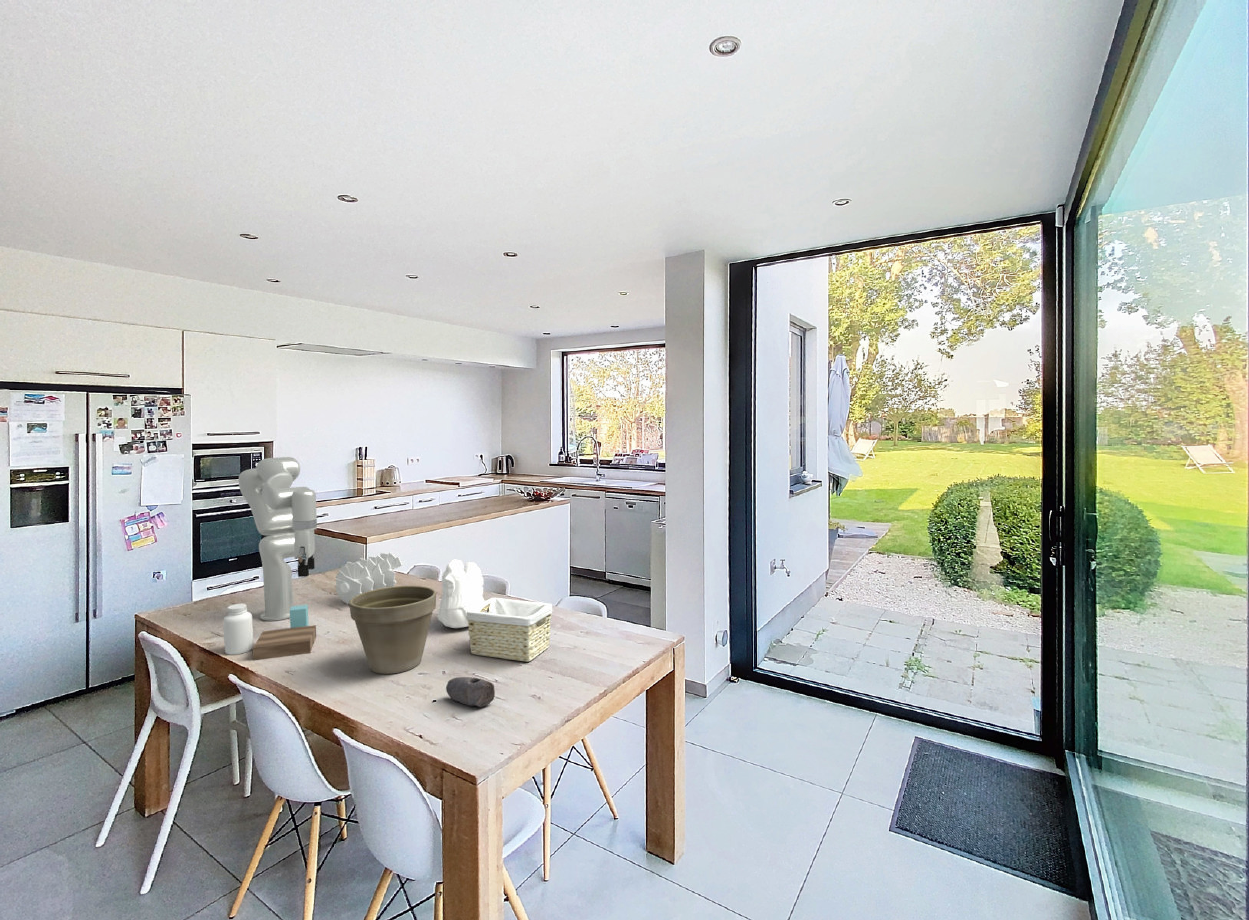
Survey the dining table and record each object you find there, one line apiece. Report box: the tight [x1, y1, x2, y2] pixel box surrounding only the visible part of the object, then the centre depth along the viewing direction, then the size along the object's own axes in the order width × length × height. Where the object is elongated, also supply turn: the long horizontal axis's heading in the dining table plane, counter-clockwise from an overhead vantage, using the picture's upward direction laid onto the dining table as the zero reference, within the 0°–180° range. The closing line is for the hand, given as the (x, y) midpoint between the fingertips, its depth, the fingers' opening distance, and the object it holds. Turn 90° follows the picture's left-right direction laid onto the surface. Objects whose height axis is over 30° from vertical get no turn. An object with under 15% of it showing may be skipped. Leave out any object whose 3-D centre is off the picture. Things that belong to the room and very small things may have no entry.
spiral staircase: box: [334, 551, 403, 605], centre depth 253 cm, size 18×18×25 cm
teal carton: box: [289, 604, 310, 628], centre depth 213 cm, size 5×5×9 cm
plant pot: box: [349, 585, 437, 675], centre depth 184 cm, size 25×25×22 cm
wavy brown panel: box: [252, 625, 317, 661], centre depth 199 cm, size 16×16×4 cm
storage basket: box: [466, 597, 553, 662], centre depth 195 cm, size 24×16×15 cm
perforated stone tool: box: [445, 676, 496, 708], centre depth 159 cm, size 15×5×7 cm, turn 62°
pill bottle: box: [222, 603, 254, 656], centre depth 196 cm, size 8×8×15 cm
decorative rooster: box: [437, 559, 485, 629], centre depth 222 cm, size 25×16×25 cm, turn 154°
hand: (306, 572), depth 212 cm, fingers open, 9 cm apart
